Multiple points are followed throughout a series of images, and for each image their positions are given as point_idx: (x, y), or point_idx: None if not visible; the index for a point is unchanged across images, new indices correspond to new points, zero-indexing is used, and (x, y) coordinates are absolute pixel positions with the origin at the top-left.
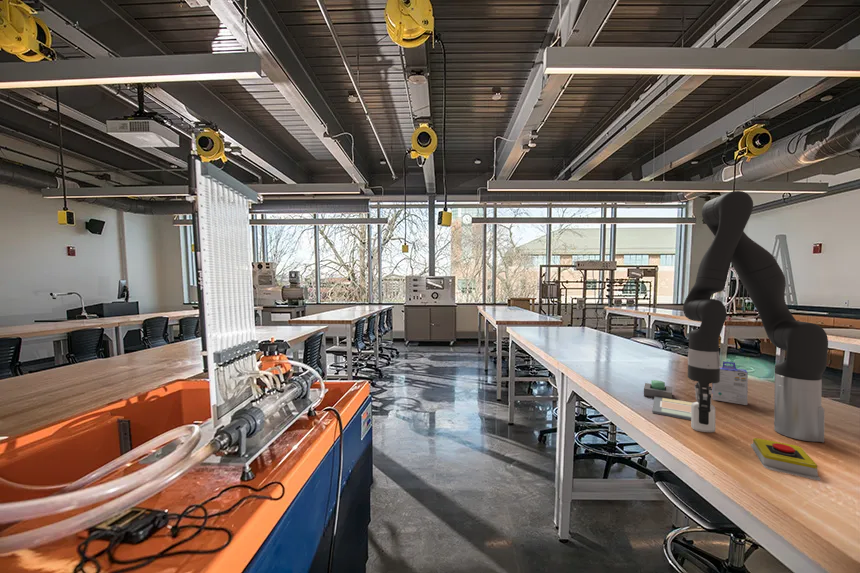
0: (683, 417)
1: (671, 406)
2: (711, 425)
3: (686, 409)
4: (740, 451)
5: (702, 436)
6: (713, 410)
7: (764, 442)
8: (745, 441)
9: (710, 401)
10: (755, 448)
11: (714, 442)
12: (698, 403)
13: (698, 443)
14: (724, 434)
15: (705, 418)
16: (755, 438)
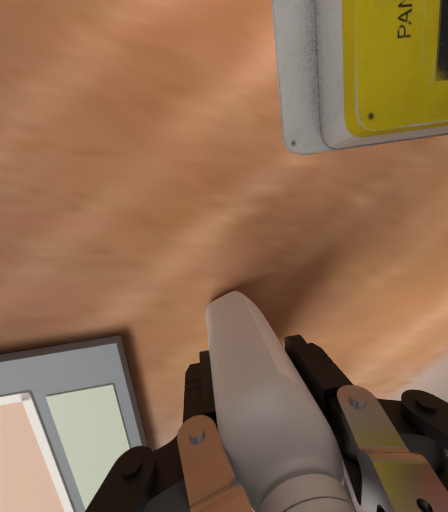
0: (137, 417)
1: (5, 494)
2: (262, 317)
3: None
4: (404, 195)
5: (322, 322)
6: (288, 372)
7: (406, 80)
8: (266, 173)
9: (441, 492)
10: (397, 136)
11: (362, 281)
12: (355, 507)
13: (406, 324)
14: (232, 254)
15: (332, 368)
16: (368, 121)
